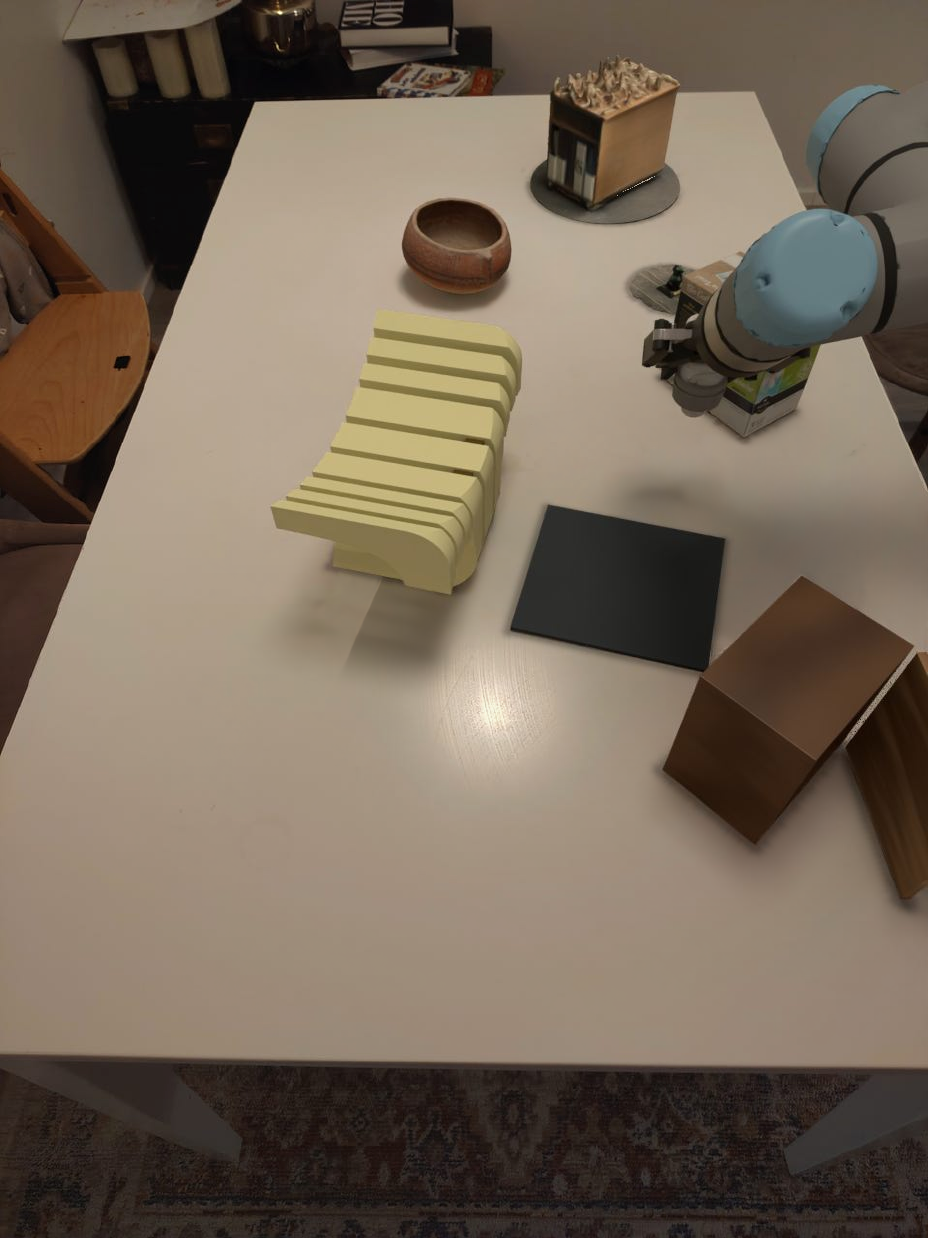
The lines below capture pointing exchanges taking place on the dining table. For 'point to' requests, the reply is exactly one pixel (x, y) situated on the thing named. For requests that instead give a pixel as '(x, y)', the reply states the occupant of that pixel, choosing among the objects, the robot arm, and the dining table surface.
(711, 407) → the light bulb
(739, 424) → the tea box
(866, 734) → the cupboard door
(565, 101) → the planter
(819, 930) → the dining table surface
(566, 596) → the mat
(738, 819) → the cupboard
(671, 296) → the sculpture
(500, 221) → the bowl
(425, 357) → the slatted curved stool
